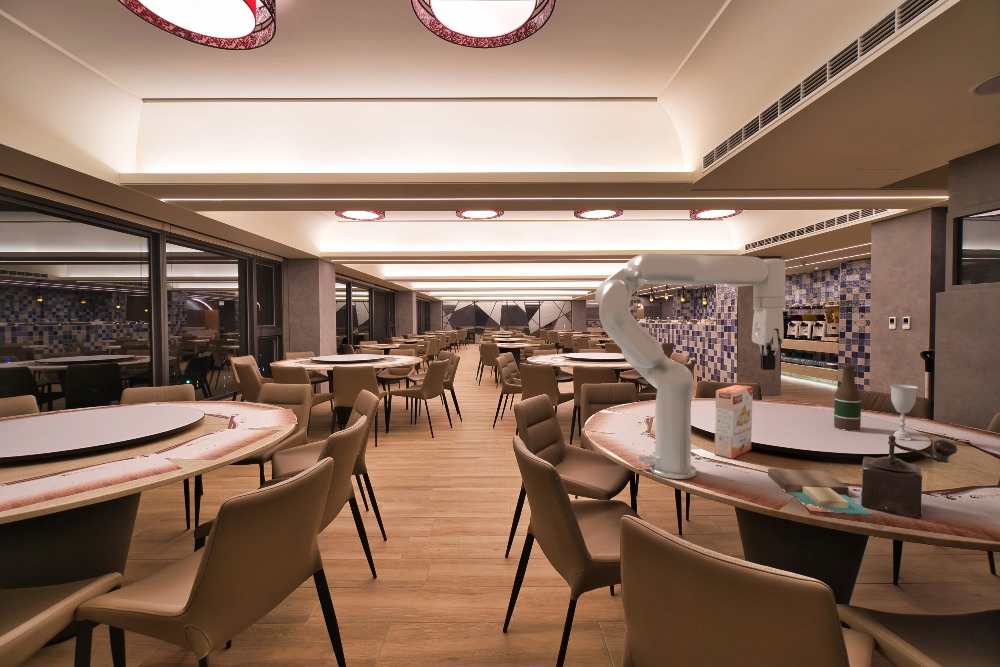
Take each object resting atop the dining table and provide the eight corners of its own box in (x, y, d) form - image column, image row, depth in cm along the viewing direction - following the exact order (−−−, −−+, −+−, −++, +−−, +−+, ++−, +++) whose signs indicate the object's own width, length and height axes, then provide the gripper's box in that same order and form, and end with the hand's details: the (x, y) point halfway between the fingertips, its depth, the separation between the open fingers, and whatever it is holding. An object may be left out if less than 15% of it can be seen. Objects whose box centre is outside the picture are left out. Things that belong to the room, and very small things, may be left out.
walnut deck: (785, 492, 111) (785, 484, 111) (768, 475, 122) (768, 468, 122) (848, 495, 109) (848, 487, 109) (824, 478, 120) (824, 471, 119)
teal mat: (810, 511, 101) (810, 510, 101) (790, 493, 111) (790, 491, 111) (870, 515, 99) (870, 513, 99) (845, 496, 109) (845, 494, 108)
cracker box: (733, 460, 135) (734, 392, 133) (713, 455, 139) (714, 389, 138) (753, 449, 143) (753, 386, 142) (733, 445, 148) (734, 383, 147)
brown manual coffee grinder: (860, 507, 102) (862, 431, 101) (861, 491, 111) (863, 421, 110) (956, 528, 92) (959, 444, 91) (948, 509, 101) (952, 431, 100)
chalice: (892, 440, 150) (894, 387, 149) (884, 434, 156) (885, 384, 155) (920, 442, 147) (922, 388, 146) (910, 436, 153) (912, 385, 152)
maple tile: (819, 506, 103) (819, 500, 102) (802, 492, 110) (802, 486, 110) (848, 508, 101) (848, 501, 101) (829, 493, 109) (829, 487, 109)
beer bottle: (858, 427, 166) (860, 363, 164) (862, 432, 159) (863, 366, 158) (832, 424, 170) (834, 362, 168) (835, 429, 163) (836, 365, 162)
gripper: (744, 304, 131) (743, 365, 132) (764, 304, 116) (763, 373, 118) (772, 303, 130) (771, 365, 131) (796, 303, 115) (794, 373, 116)
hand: (767, 369), depth 124 cm, fingers closed
